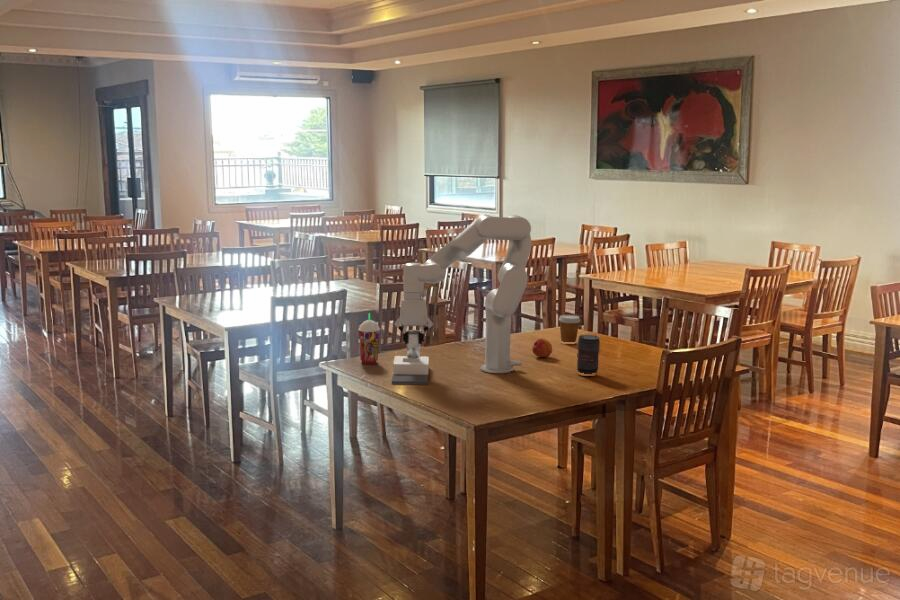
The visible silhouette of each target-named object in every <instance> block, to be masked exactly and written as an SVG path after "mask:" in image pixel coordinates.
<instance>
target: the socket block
mask: <svg viewBox="0 0 900 600" xmlns="http://www.w3.org/2000/svg"><path fill="white" fill-rule="evenodd" d="M429 361H430V360H429V356H425V355H424V356H422V355H420V358H414V359H413V358H407V355H395V356H394V359H393V364H392V365H393V368H392V369H393V370H392V371H393V373H392V375H393V374H408V375H428V376H429V366H430V364H429V363H430V362H429Z"/></svg>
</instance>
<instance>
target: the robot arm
mask: <svg viewBox="0 0 900 600" xmlns="http://www.w3.org/2000/svg"><path fill="white" fill-rule="evenodd" d="M531 232H532V226H531V223H530V222H529V220H528V219H527V218H526V217H523V216H520V215H517V214H516V215H515V214H513V215H512V214H511V215H509V216H506V217H504V216H502V217H501V216H493V215H489V214H482V215H480V216H478V217H477V218H476V219H474V220H473V221H472V222H471V223H470V224H468V226H467V227H466V228H465V229H463V230H462V231H461V232H460V233H459V234H458V235H457V236H455V237H454V238H453V239H452V240H451V241H449V242H448V243H447V244H445V245H444V246H442V247H441V248H440V249H438V250H437V251H436V252H435V253H434V254H433V255H431V256H430V257H429V258H428V259H427V260H426V261H425V262H424V263H423V264H422V263H420V262H407V263H405V264H404V265H403V298H402V299H401V301H400V309H399V311H400V312H399V313H400V315H399V316H398V318H397V320H396V321H394V324H393V325H394V327H396V328H397V329H398V330H399V331H400V332H402V335H403V336H402V337H403V342H404V345H407V331H408V330H407V328H408V327H419V329H420V330H419V331H420V345H423V344H422V343H423V342H424V341H425V338H424V337H425V333H426V332H427V331H428V330H429V329H430V328H432V327H433V325H434V323H433V322H432V320H431V319H430V318H429V317H428V308H427V307H428V306H427V300H426V298H425V297H428V292H425V291H424V285H425V283H426V284H427V283H428V284H439V283H441V282H442V281H443V280H444V279H445V276H446V270H447V269H448V268H449V267H450V266H451V265H453V264H454V263H456V262H457V261H459V260H462V259H466V258H467V257H469V256H471V255H472V254H473V253H474V252H475V251H476V250H477V249H478V248H479V247H481V246H482V245H483V244H484V243H485V242H487V240H493V241H494V240H495V241H508V248H507V251H506V254H505V257H504V258H503V261H502V264H501V266H500V268H499V271H498V273H497V279H498V282H499V286H498V288H494V289H492V290H490V291H489V292H488V293H487V295H486V297H485V301H484V307H485V341H484V342H485V347H484V350H485V352H484V364H482V365H481V366H480V370H481V371H482V372H484V373H489V374H506V373H507V374H508V373H512V372H514V367H522V360H513V359H511V356H510V355H511V331H512V329H511V328H512V327H511V325H512V322H511V321H512V320H511V319H512V318H511V317H512V316H513V315H514V314H515V312H516V311H517V309H518V307H519V304H520V302H521V299H522V297H523V295H524V292H525V290H526V287H527V284H528V279H529V278H528V273H527V271H526V270H525V268H526V267H527V263H528V261H529V258H530V254H531V252H532V246H533V245H532V243H533V242H532V237H531ZM511 371H512V372H511Z"/></svg>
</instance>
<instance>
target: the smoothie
mask: <svg viewBox="0 0 900 600" xmlns="http://www.w3.org/2000/svg"><path fill="white" fill-rule="evenodd" d="M367 315H368V316H367V317H368V319H367V320H364V321H363V322H362V323H361V324H360V326H359V328H358V338H359V355H360V361H361V363H362V364H363V365H368V364H371V365H375V364H377V361H378V360H379V348H380V347H379V346H380V334H381V333H380V332H381V331H380V330H381V328H380V327H379V324H378V323H377V322H376V321H375V320H372V319H371V312H368V314H367Z"/></svg>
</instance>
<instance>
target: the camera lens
mask: <svg viewBox="0 0 900 600" xmlns="http://www.w3.org/2000/svg"><path fill="white" fill-rule="evenodd" d="M600 343H601V342H600V336H597V335H594V334H580V335H579V336H578V340H577V355H576V357H577V362H576V363H577V364H576V367H577V368H576V369H577V370H576V371H577V372H580V373H584V374H592V373H596V374H597V373H598V371H599V370H598V369H599V354H600V347H601V346H600Z"/></svg>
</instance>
